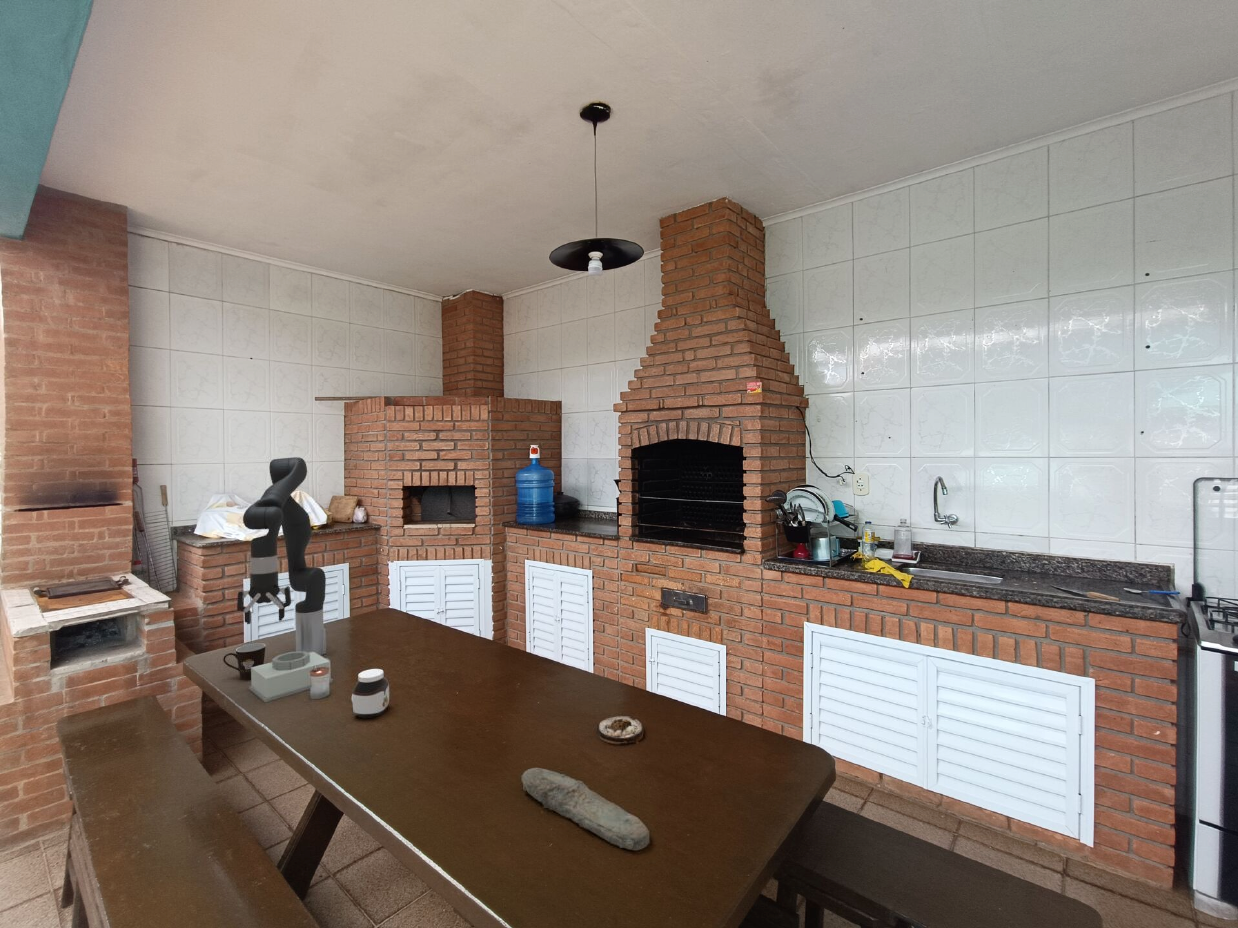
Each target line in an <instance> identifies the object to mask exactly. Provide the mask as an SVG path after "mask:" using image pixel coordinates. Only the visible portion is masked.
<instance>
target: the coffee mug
mask: <svg viewBox="0 0 1238 928" xmlns="http://www.w3.org/2000/svg"><path fill="white" fill-rule="evenodd" d="M266 647H267V645H266V643H260V642H259V643H249V644H244V645H242V646H239V647H237V648H236V649H235V653H233V652H229V653H227V654H225V655H223V660H222V661H223V663H224V664H225V665H226V666H228V667H229V668H232V669H233V670H236V671H238V672H239V679H240V680H241V681H251V667H255V666H259V665H263V664H265V655H266ZM228 656H234V658H236V660H237V666H238V667H236V666H234V665H231V664H229V662H227V661H226V658H227V657H228Z"/></svg>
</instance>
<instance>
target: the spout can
mask: <svg viewBox="0 0 1238 928" xmlns="http://www.w3.org/2000/svg"><path fill="white" fill-rule="evenodd" d="M309 690H310V691H309V692H310V699H312V700H319V699H323V698H327V696H329V695H330V683H329V668H328V667H319V668H317V666H313V669H312V670H311V671H310V689H309Z"/></svg>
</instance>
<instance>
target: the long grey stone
mask: <svg viewBox="0 0 1238 928" xmlns="http://www.w3.org/2000/svg"><path fill="white" fill-rule="evenodd" d="M521 783H522V788H523V791H525V792H527V793H528V794H529V795H530V796H531V797H533V799H534V800H536V801H538V802H539V803H541V804H542V805H543V808H544V809H549V811H555V813H557V814H559V815H561V816H562V817H564V818H568V819H571V820H572V821H573V822H574V823H575V824H576V823H577V824H579V827H581V828H584V829H586V830H589V831H590V832H592V833H594V834H596V835H597V836H599V837H600V838H601V839H604V840H605V841H607V842H608V843H609V844H613V845H615V846H619V847H618V848H620V849H621V848H624V849H627V850H630V851H639V850H640V851H641V850H642V849H644V848H646V847H647V846H648V845H649V844H650V831H649V829H648V827H647V826H646V825H645V823H643V820H640V818H639V817H637V816H635V815H634V814H631V813H629V812H627V811H626V810H625V809H623V808H622V807H621V806H619V805H617V804H616V803H614V802H611V801H609V800H608V799H606V798H605V797H603V796H601V795H600V794H598V792H595V791H594V790H592V789H589V787H588V785H587V784H585V783H584V781H581V780H576V779H575V778H572V777H571V776H568V775H566V774H564V773H559V772H556V771H553V770H549V769H546V768H540V767H532V768H529V769H527V770H525V771H524V772H523V774H521Z"/></svg>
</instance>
